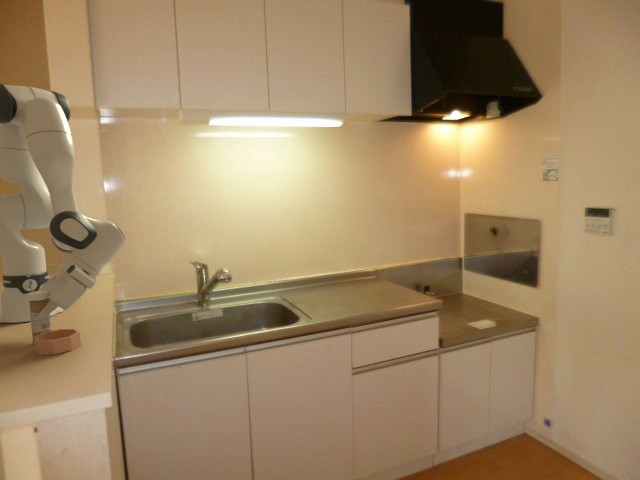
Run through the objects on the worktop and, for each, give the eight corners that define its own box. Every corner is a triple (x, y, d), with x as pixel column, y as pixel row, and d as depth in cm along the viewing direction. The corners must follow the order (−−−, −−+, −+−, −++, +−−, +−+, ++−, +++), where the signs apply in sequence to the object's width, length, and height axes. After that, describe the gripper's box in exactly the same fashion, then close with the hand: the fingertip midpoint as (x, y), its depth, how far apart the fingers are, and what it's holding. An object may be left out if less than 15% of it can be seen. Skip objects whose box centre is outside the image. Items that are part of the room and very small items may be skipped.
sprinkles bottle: (49, 338, 115) (45, 289, 114) (55, 342, 112) (51, 291, 111) (29, 342, 112) (25, 292, 110) (34, 346, 109) (30, 294, 107)
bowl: (33, 348, 108) (32, 334, 107) (74, 339, 114) (73, 326, 113) (40, 357, 101) (39, 343, 100) (83, 347, 107) (82, 334, 107)
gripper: (58, 261, 122) (19, 301, 116) (76, 270, 107) (33, 315, 102) (76, 275, 126) (40, 314, 120) (97, 284, 111) (56, 330, 105)
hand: (37, 315), depth 111 cm, fingers closed on sprinkles bottle, 4 cm apart
